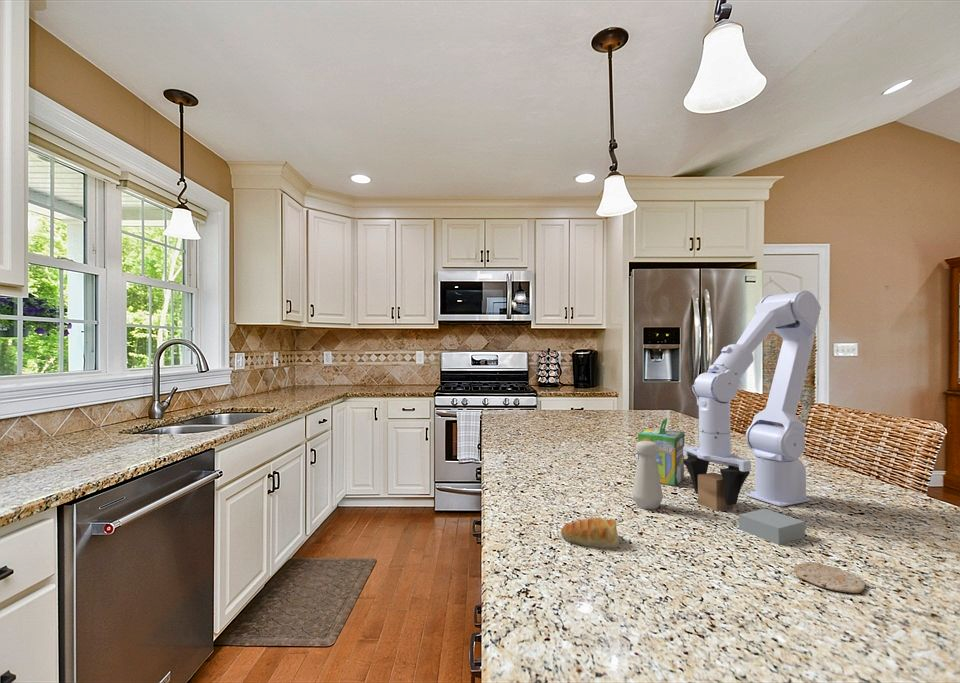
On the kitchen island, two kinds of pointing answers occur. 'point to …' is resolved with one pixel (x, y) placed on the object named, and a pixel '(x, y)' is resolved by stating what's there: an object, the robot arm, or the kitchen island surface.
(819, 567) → the flatbread
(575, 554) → the kitchen island surface
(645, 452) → the salt shaker
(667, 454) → the chalk box
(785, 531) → the base slab
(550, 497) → the kitchen island surface
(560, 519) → the kitchen island surface
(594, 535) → the pastry
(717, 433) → the robot arm
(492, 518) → the kitchen island surface
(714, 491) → the walnut block
